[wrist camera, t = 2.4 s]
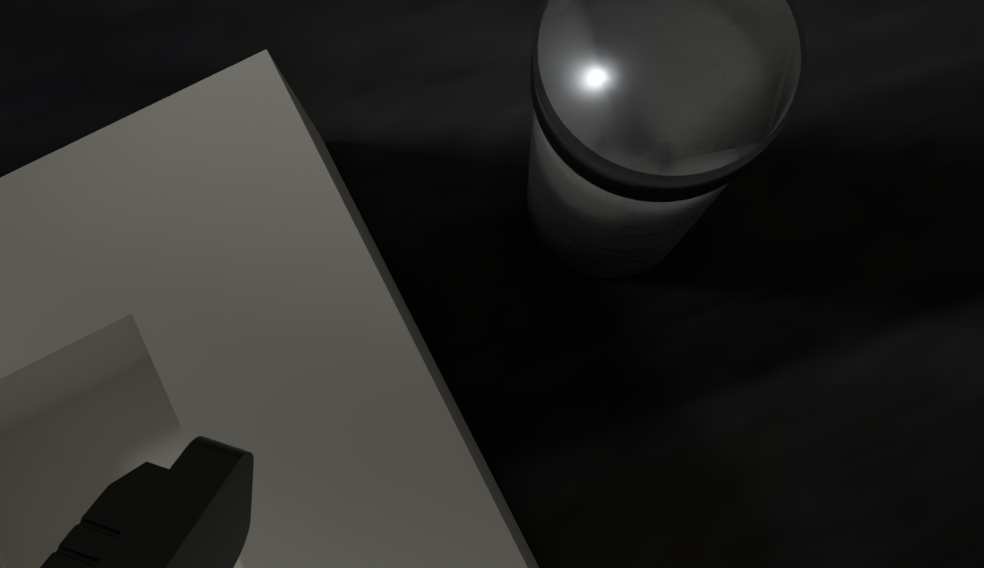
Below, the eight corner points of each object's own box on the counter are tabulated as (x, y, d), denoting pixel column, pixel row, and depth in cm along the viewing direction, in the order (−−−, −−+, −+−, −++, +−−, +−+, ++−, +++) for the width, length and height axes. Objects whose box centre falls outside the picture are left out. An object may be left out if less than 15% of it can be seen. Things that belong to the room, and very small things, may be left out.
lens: (494, 166, 26) (485, -2, 16) (639, 93, 26) (717, -115, 16) (573, 311, 25) (616, 228, 15) (723, 234, 25) (859, 103, 15)
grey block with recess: (-217, 402, 25) (-443, 390, 19) (321, 137, 26) (266, 49, 20) (-31, 937, 22) (-227, 1118, 16) (561, 612, 23) (580, 671, 17)
